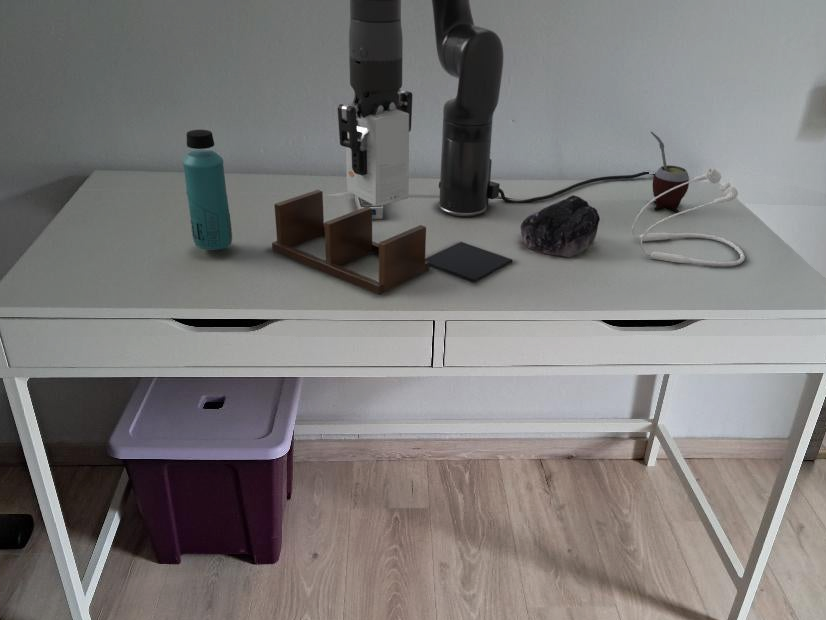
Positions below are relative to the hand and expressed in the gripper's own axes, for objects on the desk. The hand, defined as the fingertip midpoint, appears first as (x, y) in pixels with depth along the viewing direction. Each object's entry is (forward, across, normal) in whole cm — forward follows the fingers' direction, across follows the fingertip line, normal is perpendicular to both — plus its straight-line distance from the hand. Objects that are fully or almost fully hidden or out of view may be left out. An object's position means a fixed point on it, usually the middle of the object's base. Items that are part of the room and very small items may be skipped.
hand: (376, 168), depth 121 cm
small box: (+5, 0, 0) cm, 5 cm away
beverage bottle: (+17, +13, -25) cm, 33 cm away
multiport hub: (+17, -20, -20) cm, 33 cm away
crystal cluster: (+18, -31, +16) cm, 39 cm away
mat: (+17, -13, +9) cm, 23 cm away
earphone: (+18, -44, +35) cm, 59 cm away
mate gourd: (+18, -62, +22) cm, 69 cm away
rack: (+17, 0, -6) cm, 18 cm away
